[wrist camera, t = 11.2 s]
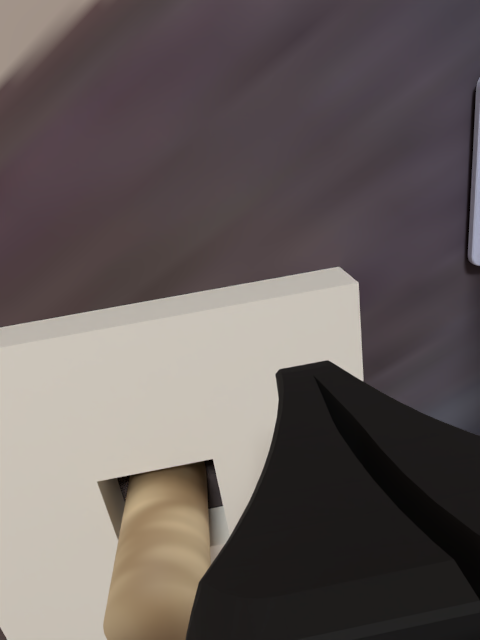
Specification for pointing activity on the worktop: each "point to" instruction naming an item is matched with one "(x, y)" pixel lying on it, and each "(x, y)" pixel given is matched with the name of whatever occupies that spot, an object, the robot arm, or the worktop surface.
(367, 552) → the robot arm
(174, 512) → the maple dowel
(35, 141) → the worktop surface
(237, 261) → the worktop surface
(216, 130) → the worktop surface
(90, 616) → the holder board
